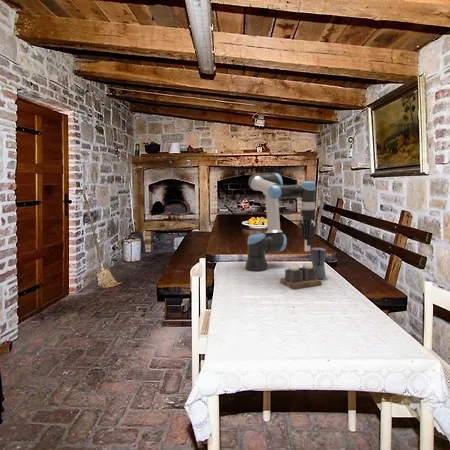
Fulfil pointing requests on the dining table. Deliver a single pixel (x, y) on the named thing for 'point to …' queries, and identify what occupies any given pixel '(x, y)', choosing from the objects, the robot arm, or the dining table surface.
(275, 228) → the robot arm
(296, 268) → the plunger near
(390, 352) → the dining table surface
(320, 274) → the moka pot
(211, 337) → the dining table surface
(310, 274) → the mount
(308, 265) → the plunger far
